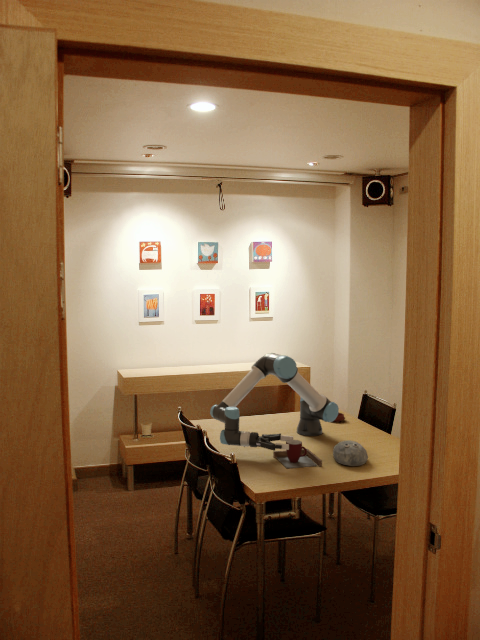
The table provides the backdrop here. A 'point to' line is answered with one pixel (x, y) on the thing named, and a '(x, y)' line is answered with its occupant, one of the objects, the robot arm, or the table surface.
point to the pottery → (339, 417)
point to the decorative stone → (350, 453)
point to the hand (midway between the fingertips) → (291, 443)
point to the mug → (295, 450)
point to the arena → (301, 462)
